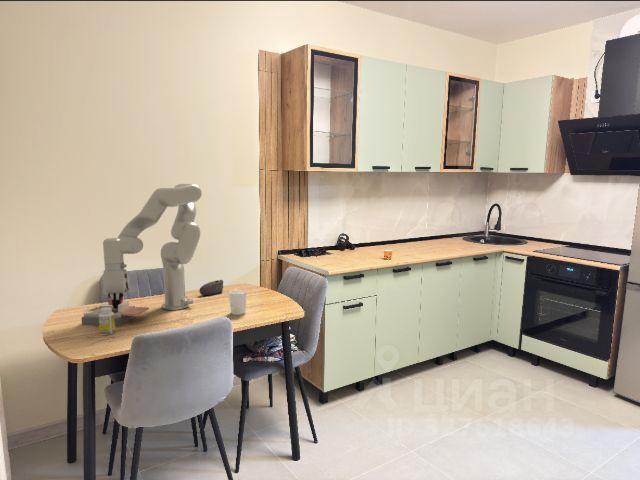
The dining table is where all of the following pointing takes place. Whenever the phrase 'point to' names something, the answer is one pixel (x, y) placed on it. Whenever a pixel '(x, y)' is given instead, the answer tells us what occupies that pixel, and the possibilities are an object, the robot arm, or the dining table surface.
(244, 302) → the white cup
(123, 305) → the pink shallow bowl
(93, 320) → the socket block
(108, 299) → the soda can
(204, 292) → the perforated stone tool
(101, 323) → the supplement bottle
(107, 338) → the dining table surface
